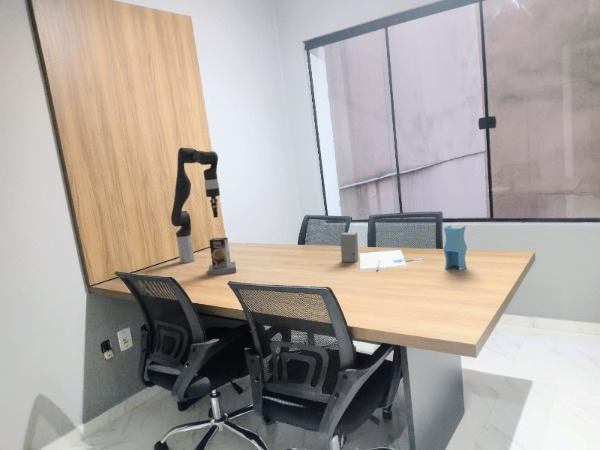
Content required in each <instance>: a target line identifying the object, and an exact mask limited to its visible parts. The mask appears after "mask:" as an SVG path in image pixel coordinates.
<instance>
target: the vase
mask: <svg viewBox="0 0 600 450" xmlns="http://www.w3.org/2000/svg"><path fill="white" fill-rule="evenodd" d="M466 227H467V226H466V225H463V226H461V227H457V228H456V227H455V228H454V227H452V225H451V224H450V225H447V226H445V227H443V229H444V233H445V243H444V248H443V253H444V256H445V266H444V270H447V269H450V268H451V267H458V271H459V272H462V271H463V270H465V269H466V268H467V264H466V254H467V248H468V247H467V246H468V245H466V242H465V231H466ZM460 268H461V269H460Z"/></svg>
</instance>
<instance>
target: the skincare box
mask: <svg viewBox="0 0 600 450" xmlns="http://www.w3.org/2000/svg"><path fill="white" fill-rule="evenodd" d="M358 241H359V239H358V232H342V233H340V248H341V249H340V251H341V252H340V253H341V255H340V256H341V262H342V263H357V261H358V260H359V247H358V246H359V243H358Z"/></svg>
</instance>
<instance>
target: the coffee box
mask: <svg viewBox="0 0 600 450" xmlns="http://www.w3.org/2000/svg"><path fill="white" fill-rule="evenodd" d="M228 238H229V237H215V238H211V239H209V241H208V242H209V248H210V254H211V255H210V257H211V265H213V268H219V267H228V266H229V265H231V262H232V261H231V255H230V247H229V246H230V245H229V239H228Z"/></svg>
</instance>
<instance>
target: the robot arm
mask: <svg viewBox="0 0 600 450" xmlns="http://www.w3.org/2000/svg"><path fill="white" fill-rule="evenodd" d="M218 162H219V156H218V154H217V152H216V151H214V150H213V151H204V150H197V149H195V148H193V147H180V148H179V149H178V152H177V165H176V166H177V170H176V181H175V189H174V201H173V206H172V210H171V215H170V220H171V221H170V222H171V224H172V225H173V227H175V228H177V227H180V229H178V230H177V231H176V233H175V235H176V236H175V237H176V242H177V249H178V250H177V251H178V255H179V262H180V264H185V263H192V262H194V261H195V253H194V246H193V239H192V234H191V233H192V224H191V223H192V222H191V221H192V220H191V216H190V213H189V212H188V211H187V210H183V209H184V208H183V207H184V206H185V203H186V201H187V200H188V199H189V197H190V195H191V189H192V182H191V180H190V178H189V177H188V174H187V173H186V170H185V164H195V163H197V164H200V165H201V166H208V165H209V166H210V167H209V168H206V169H205V170H203V178H204V189H205V190H204V191H205V195H206V197H207V198H210V200H209V202H210V207H211V210H212V214H213V215H212V216H213V218H218V216H219V215H218V214H219V213H218V202H219V201H218V198H217V197H219V196H221V192H220V184H219V181H218V174H217V173H218V172H217V171H218Z"/></svg>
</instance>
